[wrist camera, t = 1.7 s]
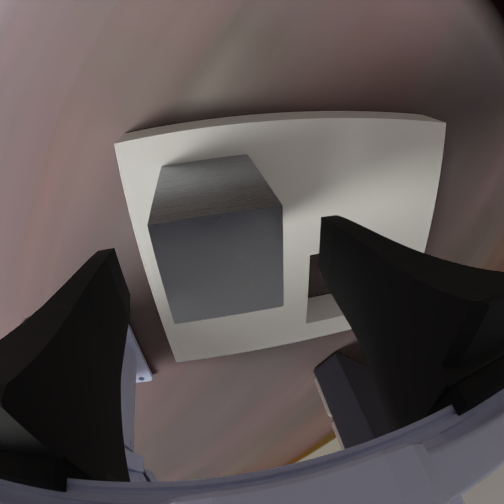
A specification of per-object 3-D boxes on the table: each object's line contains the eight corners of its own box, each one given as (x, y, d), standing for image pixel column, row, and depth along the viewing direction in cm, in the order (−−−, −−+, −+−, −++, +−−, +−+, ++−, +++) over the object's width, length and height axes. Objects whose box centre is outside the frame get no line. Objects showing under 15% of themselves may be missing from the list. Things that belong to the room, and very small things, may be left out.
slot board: (175, 337, 23) (176, 362, 21) (124, 133, 15) (114, 143, 13) (391, 294, 25) (406, 313, 23) (421, 114, 17) (446, 122, 15)
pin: (175, 240, 16) (174, 324, 11) (161, 166, 14) (146, 225, 9) (252, 229, 17) (283, 306, 12) (247, 154, 14) (282, 205, 9)
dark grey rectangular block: (306, 372, 29) (359, 513, 16) (339, 345, 28) (408, 490, 15) (362, 392, 34) (410, 497, 22) (390, 371, 33) (446, 476, 20)
